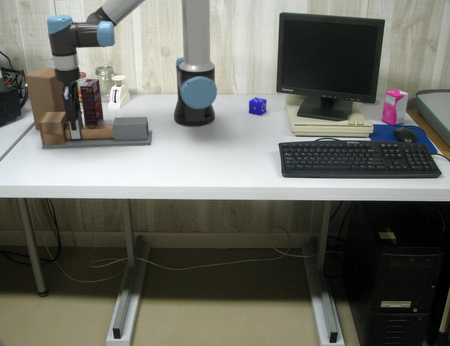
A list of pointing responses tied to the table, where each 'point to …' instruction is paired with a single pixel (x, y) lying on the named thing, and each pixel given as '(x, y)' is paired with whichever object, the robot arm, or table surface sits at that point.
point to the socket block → (53, 128)
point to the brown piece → (89, 130)
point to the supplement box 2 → (394, 107)
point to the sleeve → (130, 129)
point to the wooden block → (44, 93)
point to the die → (257, 106)
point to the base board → (100, 143)
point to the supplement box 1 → (92, 102)
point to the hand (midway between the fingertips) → (77, 135)
